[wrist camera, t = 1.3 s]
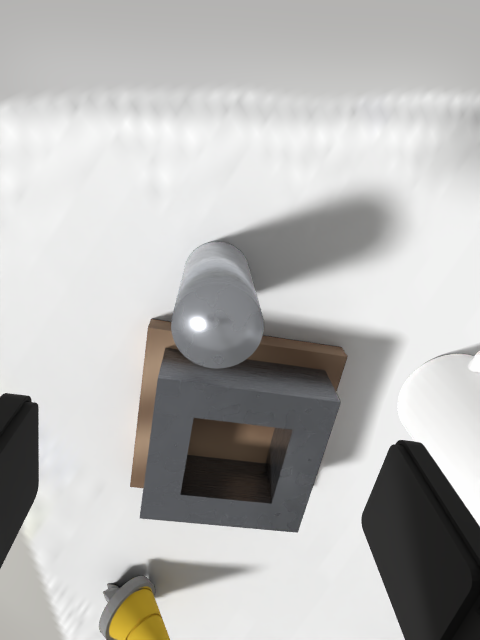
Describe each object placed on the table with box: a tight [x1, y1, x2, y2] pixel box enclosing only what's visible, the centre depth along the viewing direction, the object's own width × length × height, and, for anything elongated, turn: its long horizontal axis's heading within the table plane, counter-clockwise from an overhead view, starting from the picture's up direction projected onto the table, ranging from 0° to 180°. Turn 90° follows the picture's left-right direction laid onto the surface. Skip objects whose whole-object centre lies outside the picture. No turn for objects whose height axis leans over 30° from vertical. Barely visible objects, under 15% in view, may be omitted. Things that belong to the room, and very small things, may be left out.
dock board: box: [130, 319, 347, 488], centre depth 32 cm, size 14×14×2 cm
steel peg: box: [171, 241, 264, 368], centre depth 24 cm, size 4×4×9 cm
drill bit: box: [99, 576, 170, 640], centre depth 36 cm, size 5×5×10 cm
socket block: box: [140, 348, 341, 532], centre depth 29 cm, size 11×11×4 cm
